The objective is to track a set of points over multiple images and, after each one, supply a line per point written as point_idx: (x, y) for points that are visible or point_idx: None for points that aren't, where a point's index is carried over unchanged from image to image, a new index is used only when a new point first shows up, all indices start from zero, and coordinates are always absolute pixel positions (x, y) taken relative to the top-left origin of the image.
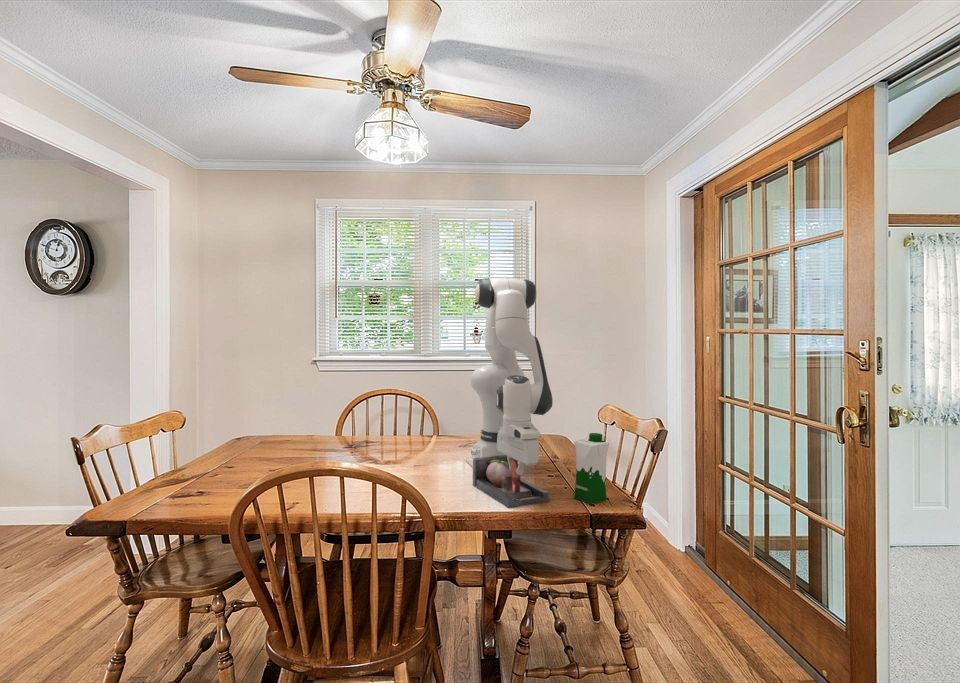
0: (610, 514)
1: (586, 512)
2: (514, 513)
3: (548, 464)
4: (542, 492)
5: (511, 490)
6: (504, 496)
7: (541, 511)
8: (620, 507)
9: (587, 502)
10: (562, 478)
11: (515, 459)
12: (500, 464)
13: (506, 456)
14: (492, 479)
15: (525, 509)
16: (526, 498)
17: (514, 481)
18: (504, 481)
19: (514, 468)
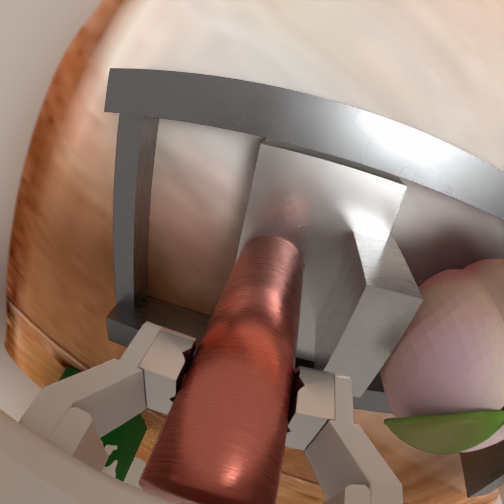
0: (6, 328)
1: (18, 303)
2: (73, 60)
3: (415, 498)
4: (119, 321)
5: (284, 241)
6: (162, 71)
7: (45, 191)
8: (43, 380)
9: (77, 371)
10: (313, 480)
11: (67, 458)
12: (494, 398)
13: (498, 478)
14: (493, 261)
15: (85, 143)
16: (128, 218)
17: (237, 282)
18: (361, 261)
19: (199, 376)
